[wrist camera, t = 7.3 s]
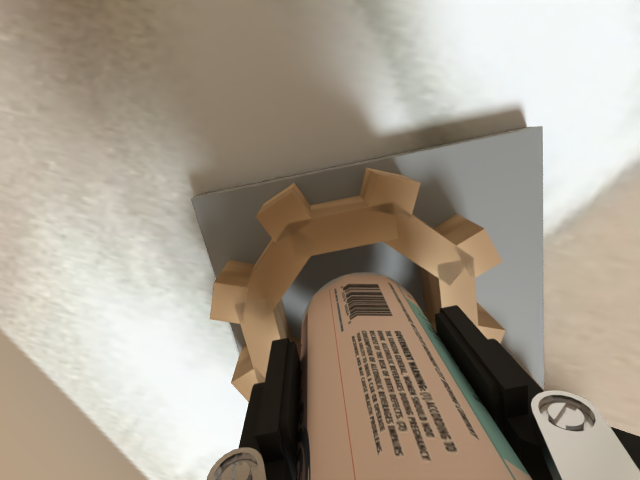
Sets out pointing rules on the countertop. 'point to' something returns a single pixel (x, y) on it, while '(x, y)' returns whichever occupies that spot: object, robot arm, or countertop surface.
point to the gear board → (431, 207)
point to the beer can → (388, 393)
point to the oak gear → (342, 233)
